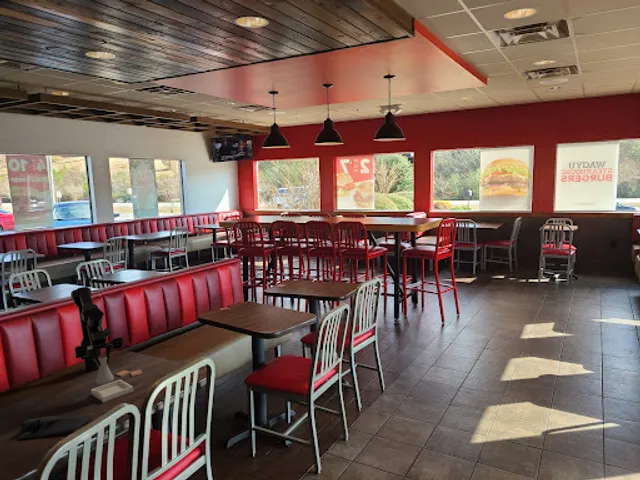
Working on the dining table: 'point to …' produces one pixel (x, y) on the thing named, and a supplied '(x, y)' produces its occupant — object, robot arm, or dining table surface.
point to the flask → (104, 372)
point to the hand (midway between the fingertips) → (103, 364)
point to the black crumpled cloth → (52, 425)
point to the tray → (112, 390)
